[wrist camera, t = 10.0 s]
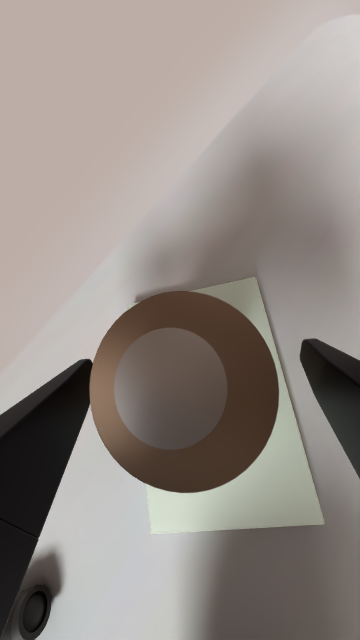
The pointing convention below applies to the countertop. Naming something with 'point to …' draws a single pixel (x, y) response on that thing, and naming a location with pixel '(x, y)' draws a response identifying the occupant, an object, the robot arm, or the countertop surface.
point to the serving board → (265, 472)
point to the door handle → (28, 614)
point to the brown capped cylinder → (184, 392)
